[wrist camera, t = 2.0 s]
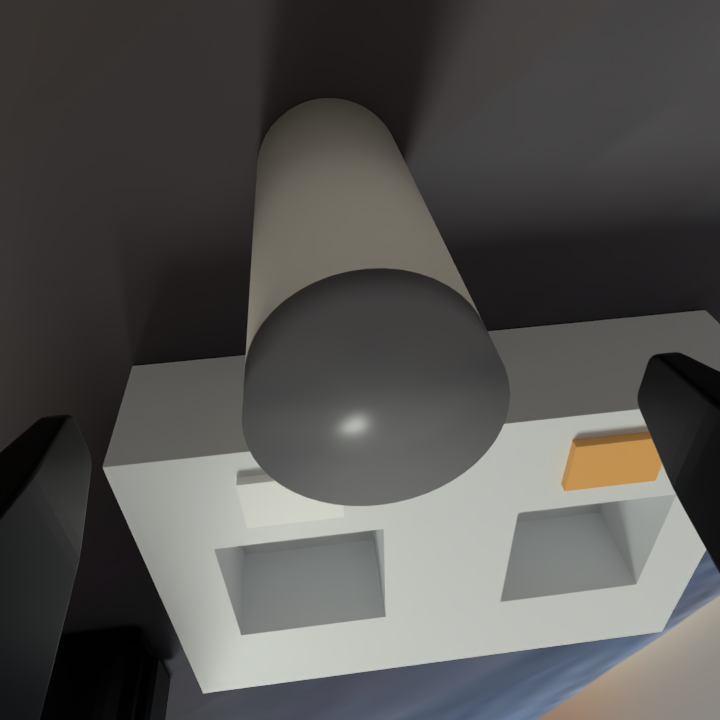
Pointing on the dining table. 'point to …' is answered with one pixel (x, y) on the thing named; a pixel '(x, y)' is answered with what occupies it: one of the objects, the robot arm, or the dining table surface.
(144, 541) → the port box
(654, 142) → the dining table surface
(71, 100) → the dining table surface
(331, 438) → the plug
